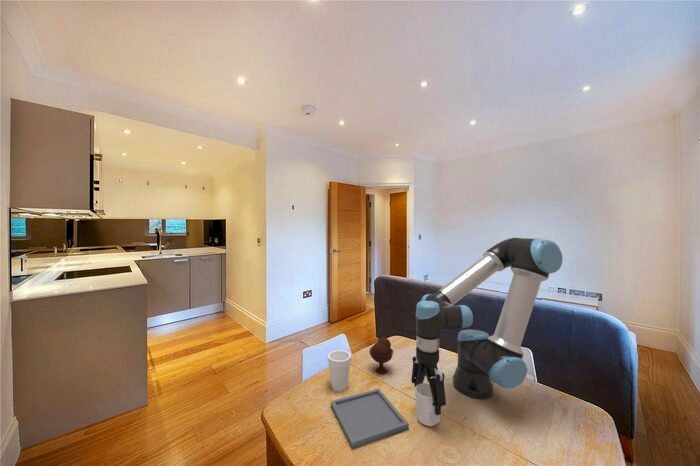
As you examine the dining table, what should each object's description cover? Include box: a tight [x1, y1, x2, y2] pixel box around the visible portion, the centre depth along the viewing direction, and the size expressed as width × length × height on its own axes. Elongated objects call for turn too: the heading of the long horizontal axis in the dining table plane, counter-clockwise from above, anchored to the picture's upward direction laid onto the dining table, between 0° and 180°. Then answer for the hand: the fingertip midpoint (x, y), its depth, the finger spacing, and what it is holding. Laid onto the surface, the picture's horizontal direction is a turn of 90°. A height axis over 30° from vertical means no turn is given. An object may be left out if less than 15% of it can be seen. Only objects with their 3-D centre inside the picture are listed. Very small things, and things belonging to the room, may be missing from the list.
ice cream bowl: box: [368, 337, 394, 375], centre depth 119 cm, size 11×11×15 cm
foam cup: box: [327, 349, 352, 392], centre depth 107 cm, size 10×9×13 cm
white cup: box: [415, 382, 438, 427], centre depth 89 cm, size 8×8×10 cm
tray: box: [330, 388, 410, 450], centre depth 90 cm, size 20×20×2 cm
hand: (427, 413), depth 89 cm, fingers closed on white cup, 8 cm apart
